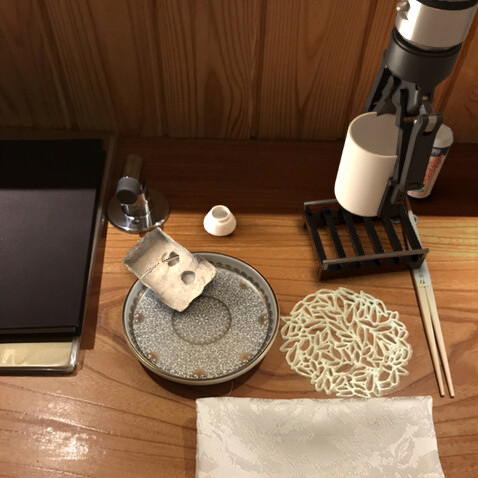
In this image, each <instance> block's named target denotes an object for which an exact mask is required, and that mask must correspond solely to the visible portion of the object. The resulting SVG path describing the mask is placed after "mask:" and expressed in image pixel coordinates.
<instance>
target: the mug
mask: <svg viewBox="0 0 478 478" xmlns="http://www.w3.org/2000/svg"><path fill="white" fill-rule="evenodd" d="M376 115H377V112H370V113H362V114H360V115H358V116H356V117H355V118H353V120H352V121H350V123H349V126H348V129H347V133H346V137H345V142H344V146H343V150H342V153H341V158H340V162H339V166H338V171H337V175H336V179H335V184H334V194H335V197H336V198H335V199H337V200H338V202H339V203H338V204H339V205H342V206H343V207H344V208H345V209H346V210H348V211H350V212H352V213H354V214H357V215H361V216H377V211H378V208H379V205H380V203H381V200H382V197H383V194H384V191H385V188H386V185H387V179H389V177H393V176H394V167H395V163H396V160H397V155H396V148H397V139H398V127H397V126H396V125H395V120H396V114H394V115H393V114H383V115H380V116H377V117H376Z"/></svg>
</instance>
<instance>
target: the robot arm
mask: <svg viewBox="0 0 478 478" xmlns="http://www.w3.org/2000/svg"><path fill="white" fill-rule="evenodd" d="M395 7H396V9H395V11H396V12H397V14H396V17H395V21H394V22H395V23H394V27H393V28H392V30H391V34H390V37H389V40H388V44H387V48H384V49H383V51H382V54H381V59H380V65H379V68H378V71H377V73H376V76H375V78H374V81H373V83H372V86H371V89H370V91H369V94H368V96H367V99H366V101H365V103H364V107H363V112H364V113H363V114H365V113H370V112H377V115H376V117H377V116H380V115H383V114H393V115H396V120H395V125H396V126H397V127H398V139H397V148H396V155H397V160H396V163H395V167H394V176H393V177H389V179H387V185H386V188H385V191H384V194H383V197H382V200H381V203H380V205H379V208H378V211H377V216H378V218H380V217H389V216H397V215H398V213H399V210H400V208H401V205H402V204H403V203H405V200H406V198H407V195H408V194H407V192H408V191H413V190H421V189H422V186H423V183H424V179H425V175H426V172H427V168H428V164H429V160H430V157H431V153H432V149H433V145H434V142H435V138H436V134H437V132H438V130H439V128H440V127H441V125H442V124H443V123H444V114H443V113H442V112H435V110H434V108H433V106H432V105H433V103H434V100H435V99H434V98H435V93H436V88H437V87H438V86H439V85H440V84H441V83H442V82H444V81H445V80H446V79H448V78H449V77H450V76H451V74H452V73H453V70H454V68H455V65H456V63H457V60H458V59H459V55H460V52H461V50H462V47H463V41H464V40H465V39H466V38H467V36H468V33H469V30H470V28H471V25H472V22H473V19H474V18H475V14H476V12H477V9H478V0H400V1H398V2H397V4H396V6H395ZM416 117H417V118H416ZM405 118H411V119H405Z"/></svg>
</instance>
